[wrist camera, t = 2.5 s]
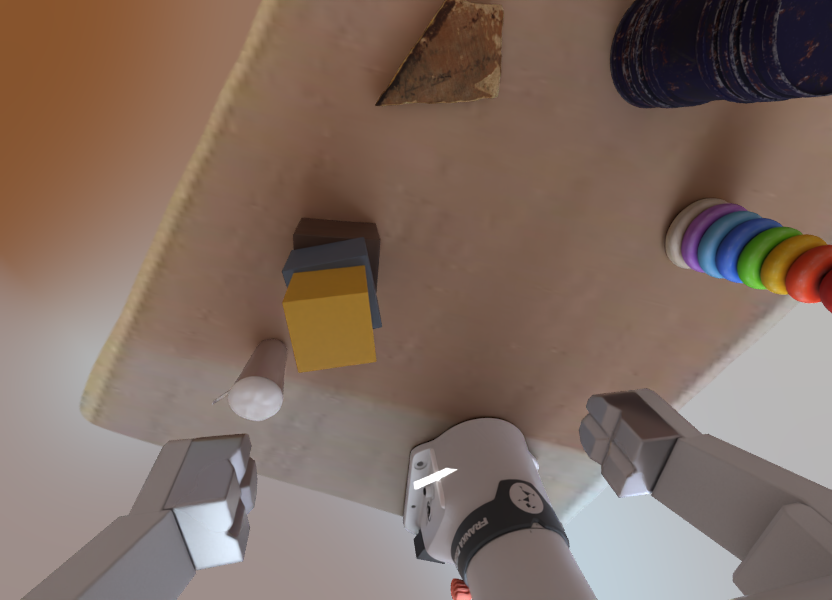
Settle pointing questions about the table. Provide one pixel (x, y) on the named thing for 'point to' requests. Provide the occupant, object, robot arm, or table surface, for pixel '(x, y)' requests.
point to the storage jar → (722, 51)
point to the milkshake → (260, 382)
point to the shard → (452, 58)
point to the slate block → (335, 265)
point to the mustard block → (329, 318)
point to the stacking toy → (751, 251)
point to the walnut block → (339, 237)
